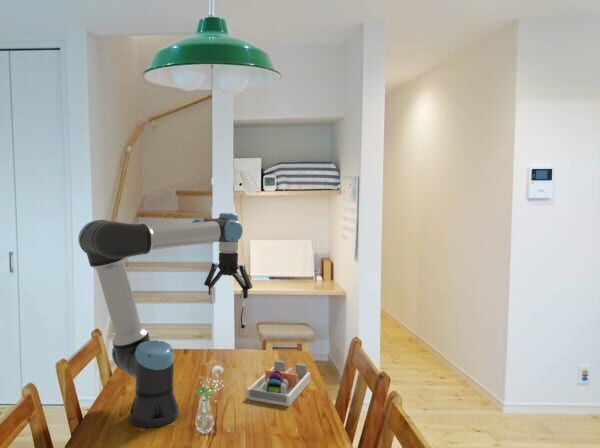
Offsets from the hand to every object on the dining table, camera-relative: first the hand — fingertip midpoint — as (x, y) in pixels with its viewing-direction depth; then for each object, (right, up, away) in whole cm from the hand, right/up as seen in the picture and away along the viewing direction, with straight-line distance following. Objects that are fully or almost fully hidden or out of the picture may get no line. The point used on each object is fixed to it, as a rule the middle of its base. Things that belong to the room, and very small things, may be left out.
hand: (227, 304), depth 184 cm
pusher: (+23, -28, -6) cm, 37 cm away
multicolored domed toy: (+20, -29, -16) cm, 39 cm away
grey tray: (+21, -30, -11) cm, 38 cm away
